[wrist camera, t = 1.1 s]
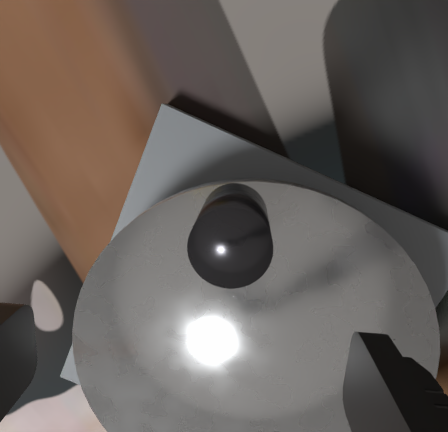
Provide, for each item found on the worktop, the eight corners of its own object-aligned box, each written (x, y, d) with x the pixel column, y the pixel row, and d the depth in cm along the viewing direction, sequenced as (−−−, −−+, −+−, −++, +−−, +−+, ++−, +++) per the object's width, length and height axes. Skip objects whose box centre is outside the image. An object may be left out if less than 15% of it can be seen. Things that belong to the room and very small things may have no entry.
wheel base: (463, 237, 31) (512, 267, 25) (314, 462, 38) (326, 526, 32) (167, 104, 29) (147, 102, 24) (69, 362, 36) (36, 410, 31)
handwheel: (504, 272, 25) (609, 338, 18) (324, 523, 32) (346, 646, 24) (151, 113, 23) (107, 114, 16) (41, 410, 30) (-24, 504, 23)
